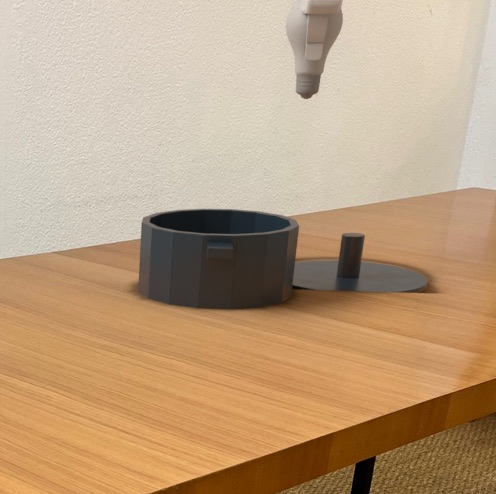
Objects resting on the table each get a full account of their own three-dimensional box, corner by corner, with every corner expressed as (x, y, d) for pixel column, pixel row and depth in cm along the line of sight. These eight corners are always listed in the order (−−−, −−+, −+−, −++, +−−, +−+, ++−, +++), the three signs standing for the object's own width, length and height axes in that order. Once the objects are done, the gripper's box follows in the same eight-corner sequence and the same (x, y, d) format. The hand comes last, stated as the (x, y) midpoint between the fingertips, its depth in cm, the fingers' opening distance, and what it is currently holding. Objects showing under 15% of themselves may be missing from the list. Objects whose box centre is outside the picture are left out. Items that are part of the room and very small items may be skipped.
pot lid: (410, 272, 123) (418, 222, 121) (440, 307, 108) (450, 251, 106) (265, 268, 126) (270, 220, 124) (275, 302, 111) (281, 247, 109)
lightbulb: (285, 97, 124) (294, -6, 120) (338, 97, 122) (350, -8, 117) (273, 100, 119) (283, -8, 115) (328, 100, 117) (340, -10, 112)
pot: (281, 283, 119) (289, 206, 115) (296, 332, 100) (307, 242, 97) (142, 279, 122) (146, 203, 118) (132, 326, 103) (137, 238, 99)
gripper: (368, -91, 103) (350, 62, 109) (344, -74, 122) (330, 56, 127) (302, -88, 105) (287, 62, 110) (288, -72, 123) (276, 56, 129)
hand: (310, 59), depth 119 cm, fingers closed on lightbulb, 5 cm apart
